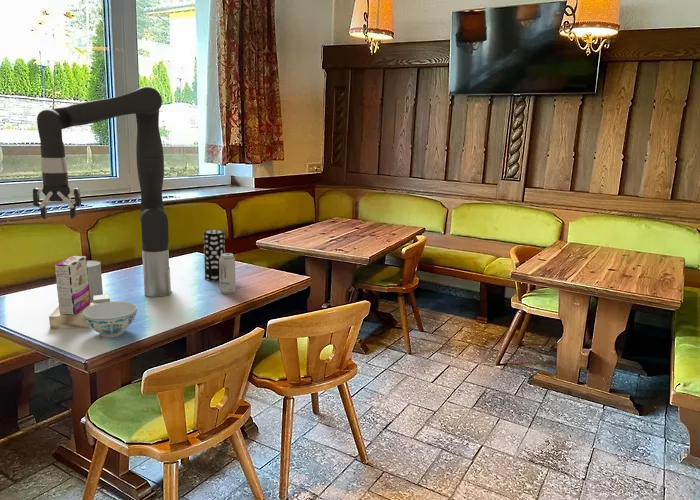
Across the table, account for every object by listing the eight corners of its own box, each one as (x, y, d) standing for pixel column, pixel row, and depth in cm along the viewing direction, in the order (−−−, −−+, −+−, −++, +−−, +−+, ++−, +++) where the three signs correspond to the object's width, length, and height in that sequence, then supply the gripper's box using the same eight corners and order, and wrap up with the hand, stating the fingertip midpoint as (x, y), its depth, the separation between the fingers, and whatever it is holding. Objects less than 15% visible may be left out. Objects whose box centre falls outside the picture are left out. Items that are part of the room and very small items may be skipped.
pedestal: (100, 313, 178) (99, 302, 177) (92, 326, 167) (91, 315, 166) (61, 315, 175) (60, 303, 175) (50, 328, 164) (48, 316, 163)
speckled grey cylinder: (91, 301, 190) (89, 268, 187) (68, 298, 192) (65, 265, 189) (108, 293, 199) (106, 261, 196) (86, 290, 201) (83, 259, 198)
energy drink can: (216, 292, 205) (215, 255, 201) (226, 288, 210) (226, 251, 206) (228, 295, 202) (227, 257, 198) (238, 291, 207) (238, 254, 204)
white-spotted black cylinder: (229, 278, 224) (228, 231, 219) (214, 282, 217) (213, 234, 212) (215, 274, 228) (214, 229, 224) (200, 278, 221) (199, 232, 217)
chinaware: (76, 342, 155) (73, 317, 153) (97, 323, 170) (95, 300, 168) (128, 343, 156) (126, 318, 154) (144, 324, 171) (143, 301, 169)
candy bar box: (76, 303, 176) (71, 255, 172) (91, 303, 176) (87, 255, 172) (58, 315, 165) (53, 264, 161) (74, 315, 165) (70, 264, 161)
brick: (110, 307, 184) (109, 294, 183) (110, 312, 180) (109, 298, 179) (94, 309, 182) (93, 295, 181) (94, 314, 178) (93, 300, 177)
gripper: (80, 170, 183) (84, 216, 186) (34, 169, 179) (39, 216, 183) (74, 172, 176) (78, 220, 179) (27, 171, 172) (32, 220, 176)
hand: (59, 218), depth 181 cm, fingers open, 8 cm apart
